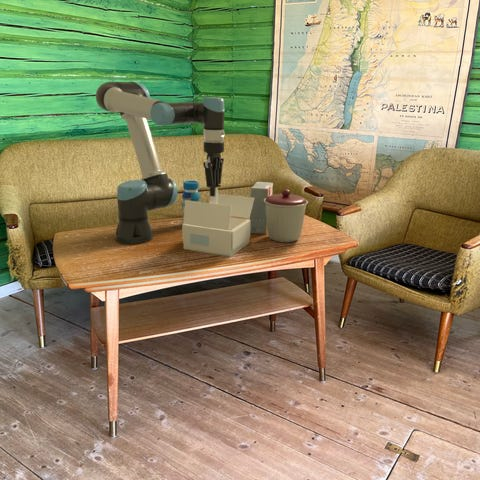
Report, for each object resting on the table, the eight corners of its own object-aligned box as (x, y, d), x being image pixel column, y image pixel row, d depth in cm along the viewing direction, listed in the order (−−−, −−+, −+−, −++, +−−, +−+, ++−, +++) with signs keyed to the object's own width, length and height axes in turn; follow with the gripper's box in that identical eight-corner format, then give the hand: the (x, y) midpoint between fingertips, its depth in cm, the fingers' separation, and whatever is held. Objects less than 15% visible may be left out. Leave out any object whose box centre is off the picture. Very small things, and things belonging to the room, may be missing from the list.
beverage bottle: (200, 228, 216) (200, 183, 210) (181, 228, 215) (180, 183, 209) (201, 222, 224) (200, 180, 218) (182, 222, 223) (181, 180, 217)
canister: (273, 247, 192) (275, 195, 185) (255, 234, 208) (256, 186, 201) (313, 243, 198) (317, 192, 192) (293, 230, 214) (295, 183, 208)
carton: (181, 249, 189) (181, 224, 186) (203, 236, 204) (203, 213, 201) (232, 257, 181) (232, 231, 178) (250, 243, 196) (251, 219, 193)
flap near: (183, 223, 185) (183, 223, 184) (185, 200, 184) (185, 200, 183) (229, 230, 178) (228, 230, 177) (231, 205, 177) (231, 205, 176)
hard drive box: (266, 234, 208) (267, 189, 202) (248, 233, 210) (249, 188, 204) (271, 224, 223) (273, 182, 217) (255, 223, 224) (256, 181, 218)
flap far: (211, 192, 203) (212, 193, 204) (206, 212, 201) (206, 212, 201) (254, 197, 196) (254, 198, 197) (248, 218, 194) (249, 218, 194)
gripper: (215, 143, 170) (215, 209, 178) (230, 140, 182) (229, 201, 189) (196, 142, 173) (197, 206, 180) (212, 138, 184) (212, 199, 192)
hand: (213, 203), depth 185 cm, fingers closed
